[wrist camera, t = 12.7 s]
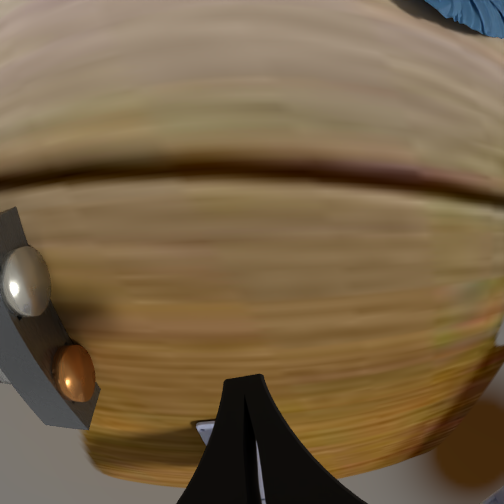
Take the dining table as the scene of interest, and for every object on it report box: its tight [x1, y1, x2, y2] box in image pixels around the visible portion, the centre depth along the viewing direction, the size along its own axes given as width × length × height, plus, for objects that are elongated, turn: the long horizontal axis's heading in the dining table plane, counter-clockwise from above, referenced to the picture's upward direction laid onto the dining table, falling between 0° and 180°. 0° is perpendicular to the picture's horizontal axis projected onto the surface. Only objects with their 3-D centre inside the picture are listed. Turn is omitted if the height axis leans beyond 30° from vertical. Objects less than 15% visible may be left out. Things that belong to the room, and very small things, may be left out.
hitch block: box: [0, 207, 101, 430], centre depth 16 cm, size 17×5×5 cm, turn 7°
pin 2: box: [0, 345, 95, 402], centre depth 18 cm, size 13×4×4 cm, turn 97°
